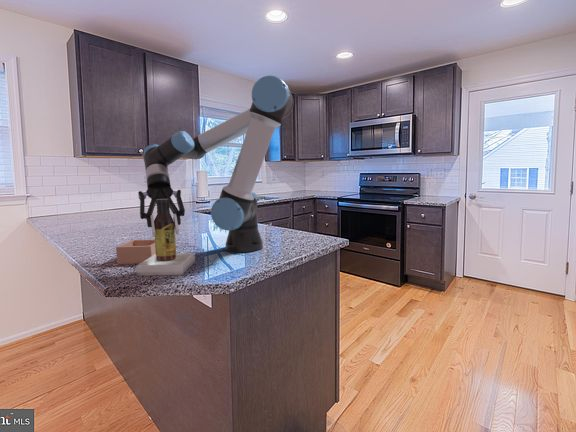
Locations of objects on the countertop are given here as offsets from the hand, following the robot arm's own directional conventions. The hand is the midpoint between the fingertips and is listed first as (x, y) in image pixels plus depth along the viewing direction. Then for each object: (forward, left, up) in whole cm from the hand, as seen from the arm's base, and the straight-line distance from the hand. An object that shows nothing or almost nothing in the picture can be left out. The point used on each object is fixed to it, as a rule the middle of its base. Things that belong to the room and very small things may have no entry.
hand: (165, 233), depth 99 cm
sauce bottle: (+2, -3, -10) cm, 10 cm away
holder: (+15, -16, -12) cm, 26 cm away
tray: (+1, -3, -12) cm, 13 cm away
